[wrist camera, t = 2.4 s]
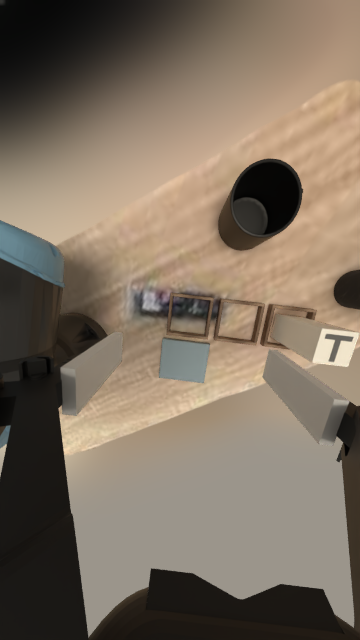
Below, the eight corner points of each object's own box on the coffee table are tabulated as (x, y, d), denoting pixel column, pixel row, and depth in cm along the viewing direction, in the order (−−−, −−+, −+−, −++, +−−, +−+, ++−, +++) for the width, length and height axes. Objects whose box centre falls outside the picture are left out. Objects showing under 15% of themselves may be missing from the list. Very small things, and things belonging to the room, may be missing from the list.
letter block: (270, 337, 35) (312, 363, 23) (275, 313, 34) (322, 328, 22) (293, 340, 35) (348, 367, 23) (300, 316, 34) (360, 333, 22)
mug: (288, 234, 31) (329, 213, 22) (226, 258, 32) (241, 247, 24) (276, 180, 30) (314, 135, 21) (211, 207, 31) (221, 176, 22)
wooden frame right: (260, 343, 36) (263, 346, 34) (269, 304, 34) (272, 305, 32) (300, 348, 35) (305, 351, 34) (311, 309, 34) (317, 310, 32)
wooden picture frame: (167, 332, 36) (166, 334, 34) (171, 292, 34) (170, 293, 33) (206, 337, 36) (207, 339, 34) (212, 297, 34) (213, 298, 33)
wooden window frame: (213, 338, 36) (214, 340, 34) (220, 298, 34) (221, 299, 33) (253, 342, 36) (256, 345, 34) (261, 303, 34) (265, 304, 32)
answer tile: (159, 375, 38) (158, 377, 37) (163, 337, 36) (162, 339, 35) (203, 380, 38) (203, 383, 37) (209, 343, 36) (209, 344, 35)
